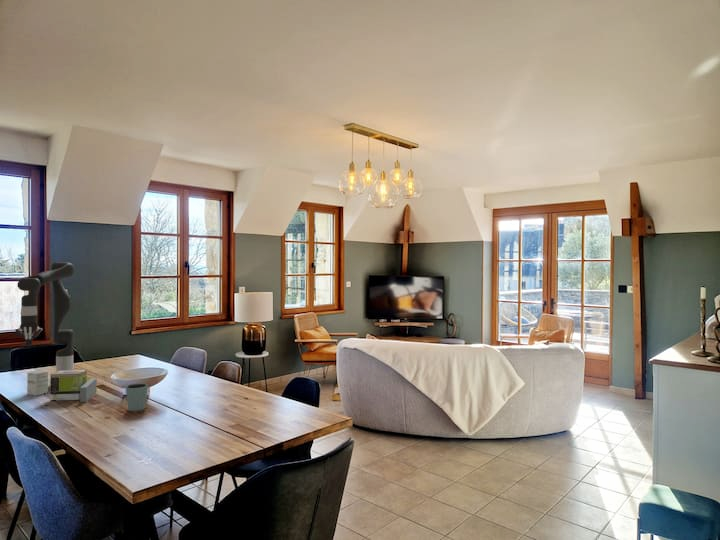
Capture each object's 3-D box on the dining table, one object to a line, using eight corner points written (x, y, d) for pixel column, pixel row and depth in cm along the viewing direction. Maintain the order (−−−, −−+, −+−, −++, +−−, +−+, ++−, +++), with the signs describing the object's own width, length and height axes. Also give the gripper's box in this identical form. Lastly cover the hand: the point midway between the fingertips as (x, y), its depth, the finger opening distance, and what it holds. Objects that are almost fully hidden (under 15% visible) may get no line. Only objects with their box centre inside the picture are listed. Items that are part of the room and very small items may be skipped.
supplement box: (26, 394, 276) (26, 372, 276) (39, 391, 283) (39, 369, 283) (35, 396, 273) (35, 373, 273) (48, 392, 280) (48, 371, 280)
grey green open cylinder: (151, 407, 254) (151, 384, 253) (134, 412, 245) (134, 389, 245) (138, 405, 258) (138, 382, 258) (121, 409, 249) (121, 386, 249)
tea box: (87, 395, 276) (87, 369, 275) (79, 400, 266) (79, 373, 265) (58, 396, 274) (59, 369, 274) (49, 401, 264) (49, 373, 264)
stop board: (90, 392, 283) (90, 378, 283) (96, 391, 284) (96, 378, 283) (80, 402, 262) (80, 387, 261) (86, 402, 262) (86, 387, 262)
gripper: (45, 313, 273) (45, 344, 273) (18, 313, 270) (18, 345, 270) (40, 314, 266) (40, 346, 266) (12, 315, 262) (12, 347, 263)
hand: (29, 345), depth 268 cm, fingers closed
